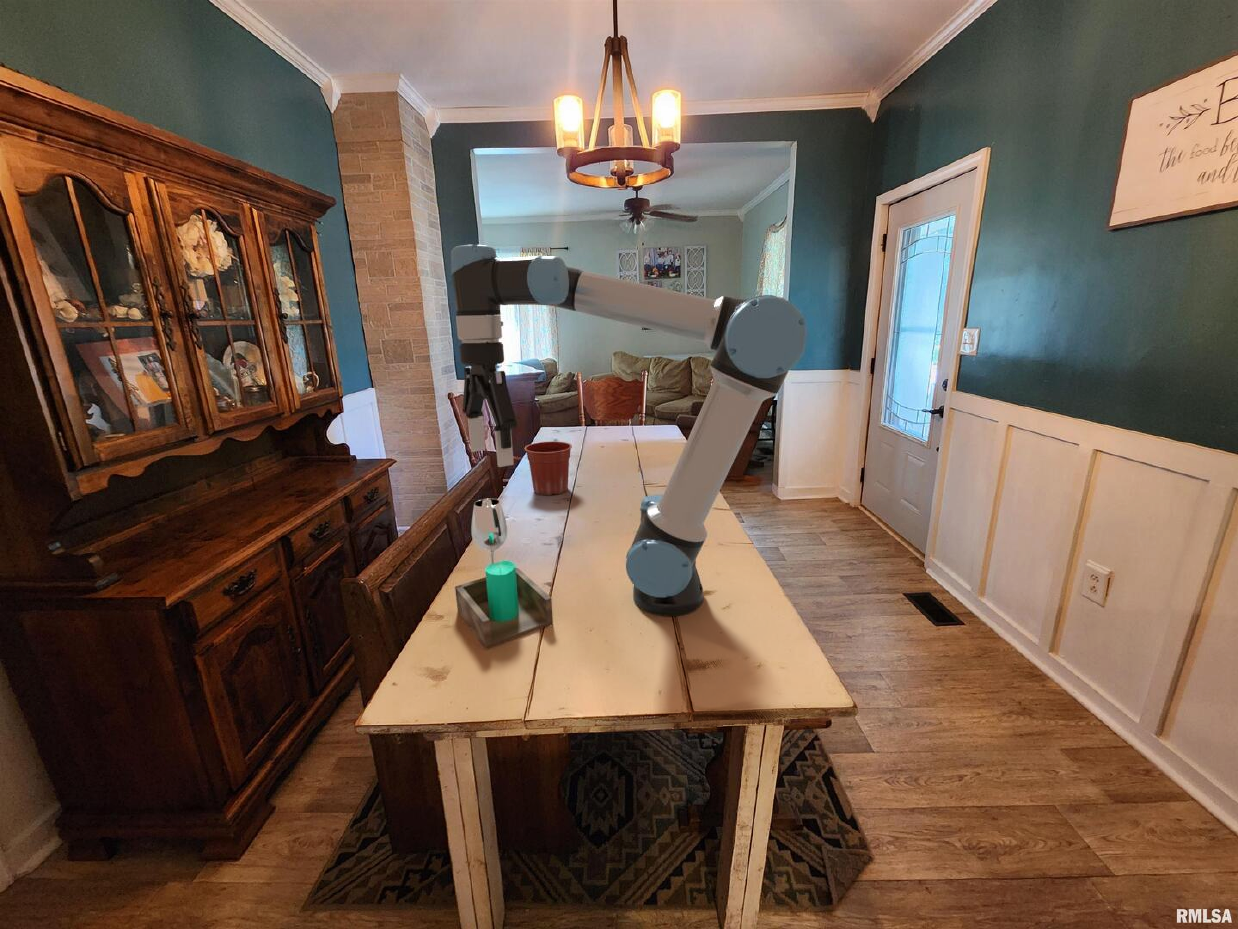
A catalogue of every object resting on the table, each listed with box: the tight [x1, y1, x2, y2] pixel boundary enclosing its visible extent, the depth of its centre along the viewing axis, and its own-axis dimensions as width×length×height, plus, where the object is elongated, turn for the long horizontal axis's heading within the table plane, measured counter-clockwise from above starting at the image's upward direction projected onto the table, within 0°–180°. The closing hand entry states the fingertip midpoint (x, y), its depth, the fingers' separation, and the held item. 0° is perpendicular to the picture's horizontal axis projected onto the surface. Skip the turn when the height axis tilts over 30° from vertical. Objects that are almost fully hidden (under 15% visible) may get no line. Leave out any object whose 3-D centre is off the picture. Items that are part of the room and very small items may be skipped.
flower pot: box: [524, 440, 573, 496], centre depth 182 cm, size 16×16×16 cm
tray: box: [454, 567, 554, 650], centre depth 105 cm, size 16×14×6 cm
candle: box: [484, 559, 519, 622], centre depth 104 cm, size 6×6×12 cm
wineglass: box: [471, 498, 508, 564], centre depth 116 cm, size 8×8×20 cm
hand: (491, 457), depth 96 cm, fingers open, 13 cm apart
